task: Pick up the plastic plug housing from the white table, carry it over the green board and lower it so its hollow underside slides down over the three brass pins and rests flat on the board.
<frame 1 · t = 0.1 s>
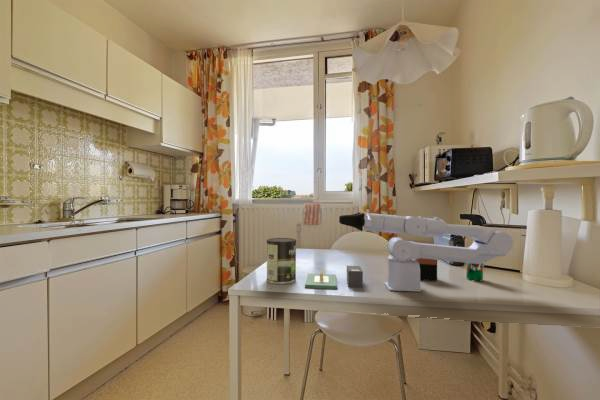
hand: (339, 219, 94), 22 cm above the table, tool horizontal, fingers open, 7 cm apart
soda can: (474, 280, 102), on the table
battery: (425, 279, 102), on the table
header board: (321, 282, 97), on the table
plug housing: (354, 283, 96), on the table
coffee can: (281, 280, 100), on the table
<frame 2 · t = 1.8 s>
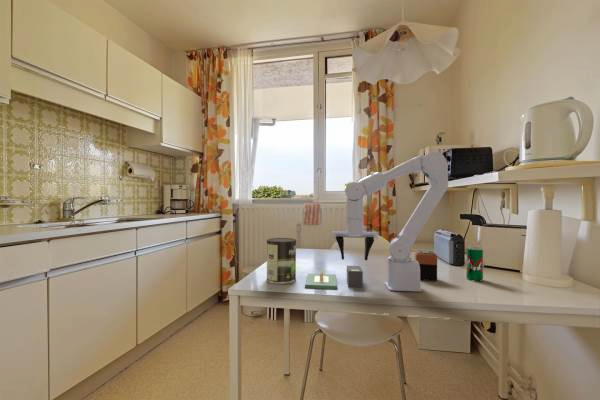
hand: (354, 259, 96), 8 cm above the table, tool pointing down, fingers open, 7 cm apart
nothing on the table moved.
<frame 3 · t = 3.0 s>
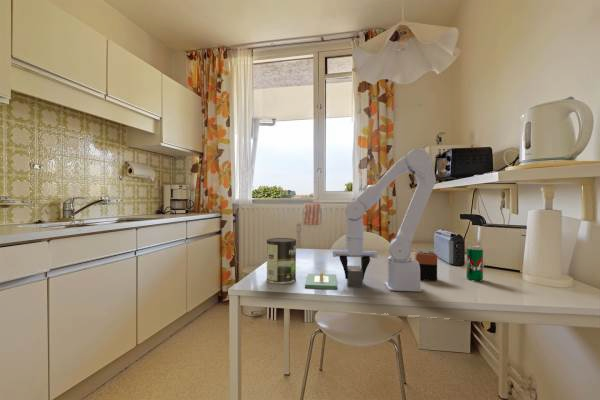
hand: (354, 278, 96), 2 cm above the table, tool pointing down, fingers closed on plug housing, 5 cm apart
plug housing: (354, 283, 96), on the table, touching gripper
everything else where it was.
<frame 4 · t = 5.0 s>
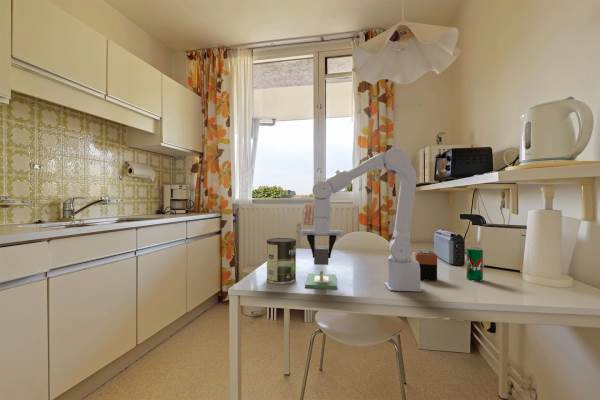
hand: (321, 257, 97), 8 cm above the table, tool pointing down, fingers closed on plug housing, 5 cm apart
plug housing: (321, 262, 97), point 7 cm above the table, touching gripper
everything else where it was.
when the fingers open (3 cm above the table, at t = 7.4 s): plug housing stays where it is, resting on header board.
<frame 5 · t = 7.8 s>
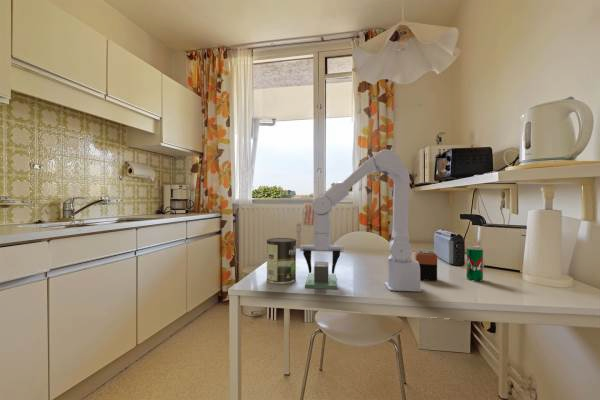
hand: (321, 272, 97), 3 cm above the table, tool pointing down, fingers open, 7 cm apart
plug housing: (321, 278, 97), point 1 cm above the table, touching header board
everything else where it was.
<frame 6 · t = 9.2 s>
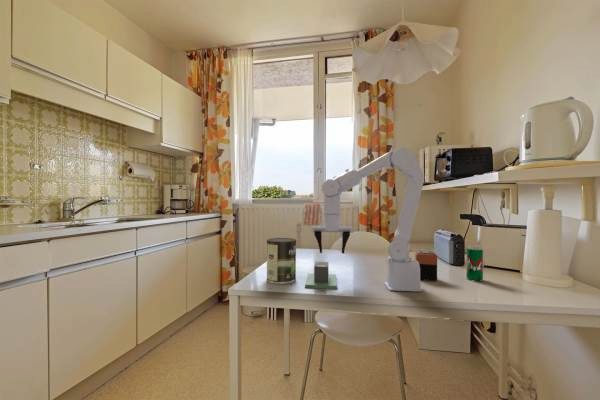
hand: (331, 252, 101), 9 cm above the table, tool pointing down, fingers open, 7 cm apart
nothing on the table moved.
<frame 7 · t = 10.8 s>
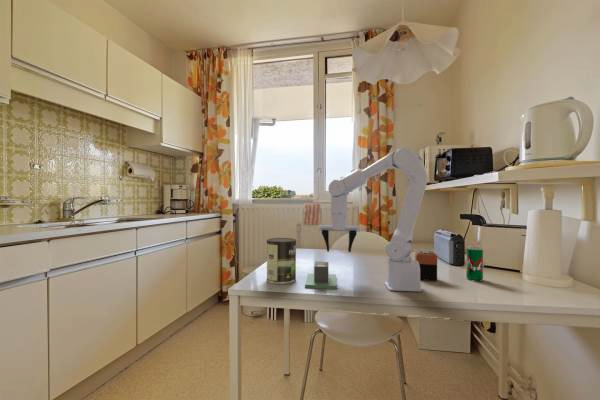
hand: (338, 251, 104), 9 cm above the table, tool pointing down, fingers open, 7 cm apart
nothing on the table moved.
at the end: plug housing 0.0 cm off-centre on the header board, point 1.1 cm above the header board's base; plug housing tilted 0°; the gripper is holding nothing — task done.
